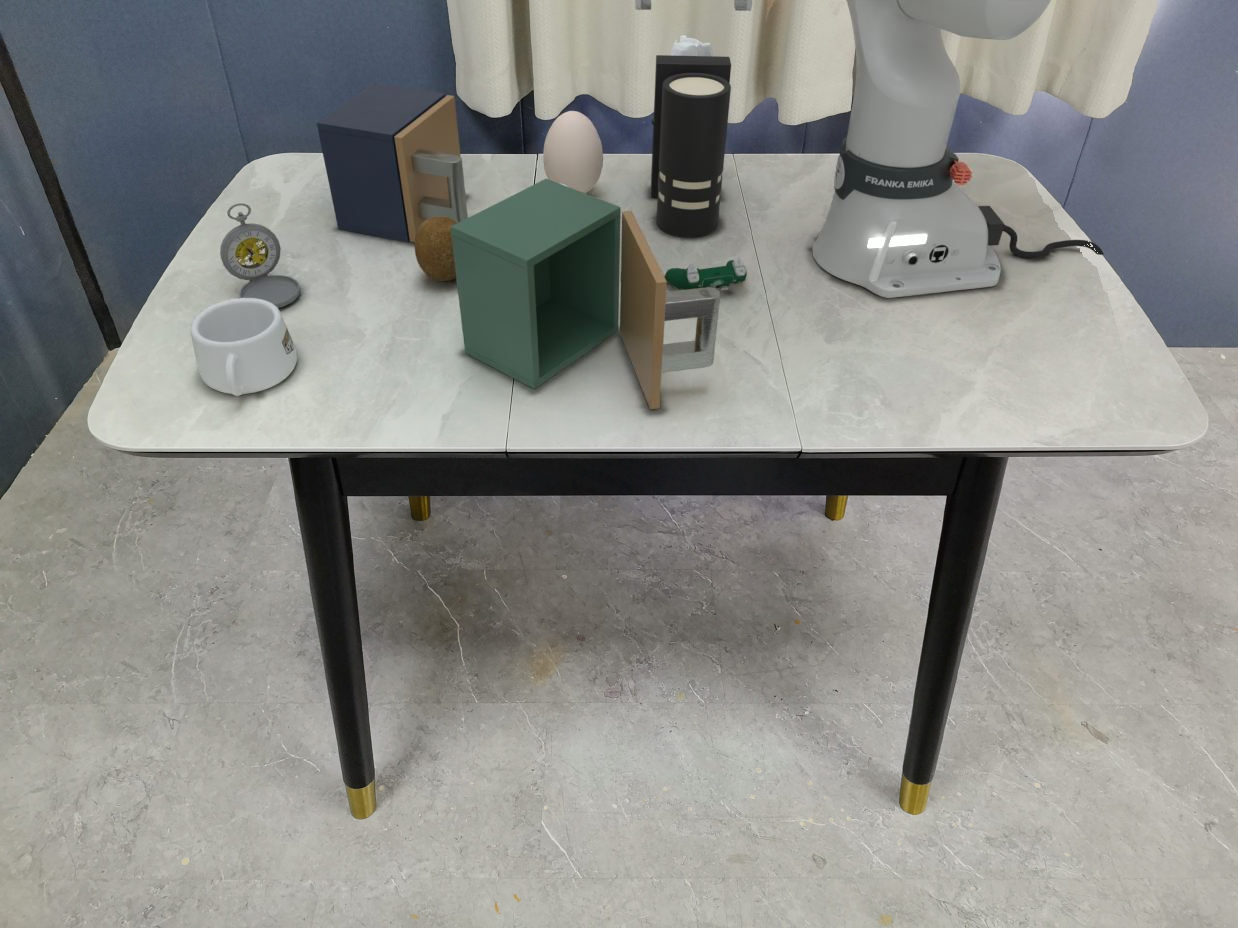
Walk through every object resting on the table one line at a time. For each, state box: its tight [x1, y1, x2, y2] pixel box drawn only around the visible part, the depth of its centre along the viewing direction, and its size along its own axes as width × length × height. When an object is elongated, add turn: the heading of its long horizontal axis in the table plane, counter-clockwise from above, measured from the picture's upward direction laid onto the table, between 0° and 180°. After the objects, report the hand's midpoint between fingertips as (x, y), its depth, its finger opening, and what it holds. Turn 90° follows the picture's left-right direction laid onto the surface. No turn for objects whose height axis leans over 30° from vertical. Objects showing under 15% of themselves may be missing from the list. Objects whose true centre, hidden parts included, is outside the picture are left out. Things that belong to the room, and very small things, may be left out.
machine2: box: [451, 178, 622, 390], centre depth 96 cm, size 10×14×15 cm
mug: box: [189, 297, 298, 397], centre depth 93 cm, size 12×10×6 cm
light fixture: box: [650, 54, 732, 238], centre depth 117 cm, size 10×14×18 cm
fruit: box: [413, 216, 457, 282], centre depth 107 cm, size 6×6×8 cm
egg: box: [542, 110, 604, 194], centre depth 123 cm, size 8×8×11 cm
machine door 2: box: [619, 210, 721, 410], centre depth 93 cm, size 7×14×14 cm, turn 13°
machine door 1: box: [394, 94, 469, 243], centre depth 116 cm, size 7×14×14 cm, turn 162°
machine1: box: [316, 82, 447, 243], centre depth 117 cm, size 10×14×14 cm
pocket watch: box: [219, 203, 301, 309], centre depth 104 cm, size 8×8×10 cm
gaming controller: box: [664, 256, 748, 292], centre depth 108 cm, size 9×4×6 cm
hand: (692, 9), depth 88 cm, fingers open, 8 cm apart
